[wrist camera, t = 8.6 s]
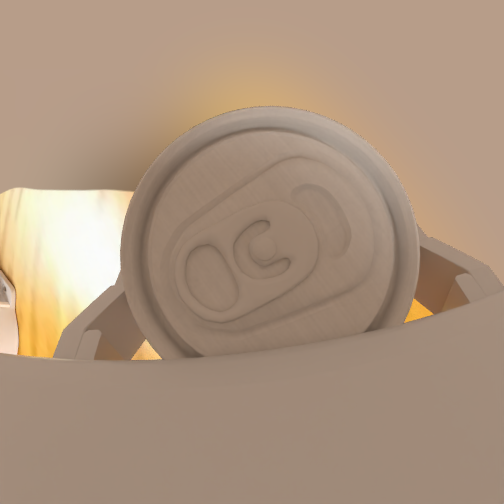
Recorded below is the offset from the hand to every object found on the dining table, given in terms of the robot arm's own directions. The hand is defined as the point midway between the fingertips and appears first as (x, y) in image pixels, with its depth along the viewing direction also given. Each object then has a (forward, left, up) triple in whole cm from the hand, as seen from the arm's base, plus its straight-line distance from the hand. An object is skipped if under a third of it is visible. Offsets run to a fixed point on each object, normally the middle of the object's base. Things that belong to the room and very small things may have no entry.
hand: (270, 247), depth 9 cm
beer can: (+1, 0, -11) cm, 11 cm away
